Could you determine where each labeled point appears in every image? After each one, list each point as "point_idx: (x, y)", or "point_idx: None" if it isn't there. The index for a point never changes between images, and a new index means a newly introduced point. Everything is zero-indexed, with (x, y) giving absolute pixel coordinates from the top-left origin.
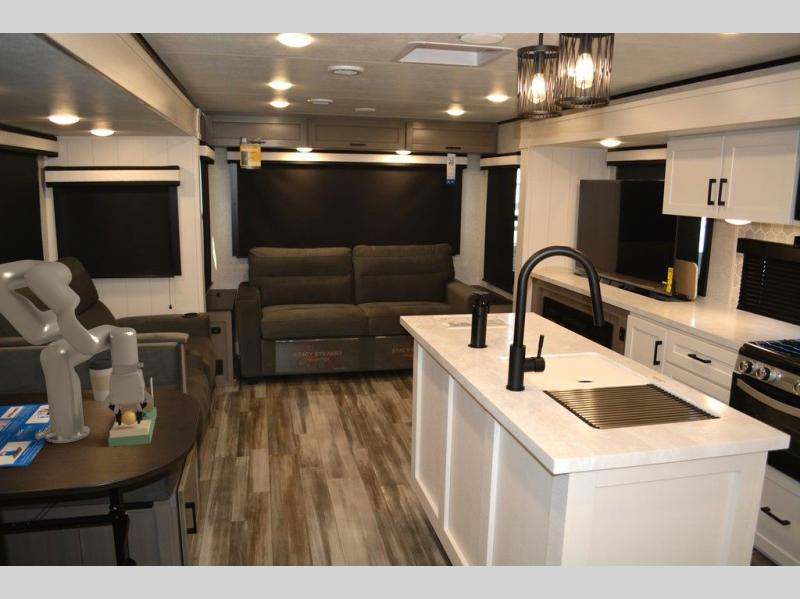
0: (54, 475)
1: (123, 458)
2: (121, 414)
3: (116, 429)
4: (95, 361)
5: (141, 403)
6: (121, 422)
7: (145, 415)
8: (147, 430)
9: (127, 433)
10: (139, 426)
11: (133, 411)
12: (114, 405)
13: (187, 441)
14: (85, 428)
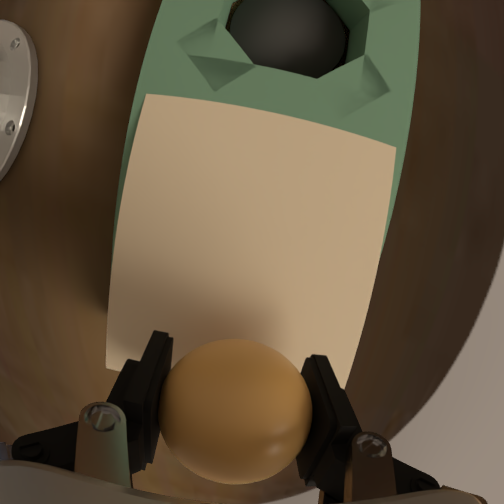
0: (24, 432)
1: None
2: (163, 437)
3: (143, 348)
4: None
5: (385, 488)
6: (170, 365)
7: (356, 8)
8: None
9: None
10: (300, 338)
11: (279, 470)
12: (67, 468)
13: (445, 369)
14: (16, 71)
